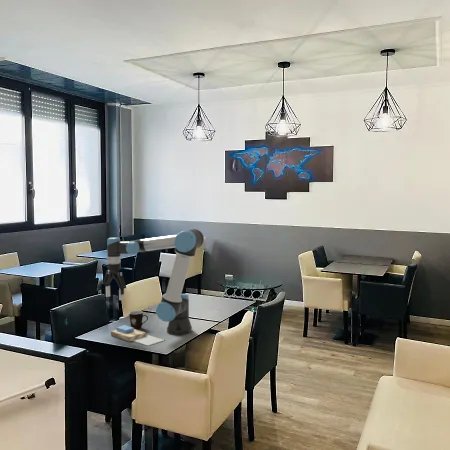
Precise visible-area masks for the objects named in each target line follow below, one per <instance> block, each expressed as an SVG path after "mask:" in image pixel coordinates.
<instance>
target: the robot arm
mask: <svg viewBox="0 0 450 450" xmlns="http://www.w3.org/2000/svg"><path fill="white" fill-rule="evenodd" d="M106 242H107V245H106V247H107V251H106V252H107V270H105V275H104V279H103V282H102V285H104V286H105V289H104V290H105V297H106V298H108V297H111V282H112V280H115V282H116V283H117V286H118V287H119V288H118V301H124V300H125V298H124V295H125V291H124V290H125V289H127V284H126V282H125V277H124V273H123V271H121V272H120V270H121V255H123V254H124V255H137V254H138V253H140V252H147V251H155V250H165V249H173V248H174V252H175V254H176V256H175V259H174V262H173V266H172V270H171V274H170V277H169V280H168V283H167V288H166V291H165V293H164V294H162V296H161V301H160V302H159V303H158V304H157V306H156V308H155V314H156V316H157V317H158V319H159V320H160V321H162V322H165V323H167V322H168V324H167V327H166V333H168V334H170V335H173V336H175V335H176V336H179V335H186V334H190V333H192V331H193V327H192V324H191V321H190V316H189V315H190V309H189V308H190V302H189V301H190V299H189V295H188V294H186V293H182V292H183V289H184V285H185V280H186V278H187V275H188V271H189V267H190V264H191V260H192V258H194V257H195V255H196V252H197V249H199V248H201V247H202V246H203V244H204V242H205V237H204V234H203V232H201V230H199V229H197V228H196V229H195V228H192V229H184V230H182V231H180V232H178V233H177V234H171V235H164V236H163V235H162V236H157V237H156V236H155V237H149V238H140V239H136V240H130V241H129V240H126V241H124V240H123V241H121V239H120V237H109V238H107V240H106Z"/></svg>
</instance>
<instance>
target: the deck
mask: <svg viewBox="0 0 450 450" xmlns="http://www.w3.org/2000/svg"><path fill="white" fill-rule="evenodd" d="M111 335H113V336H112V337H114V336H115V337H114V338H117V337H118V338H117V339H120V340H123V341H127V342H129V343H130V342H133V341H132V340H134V339H138V338H141V337H145V336H147V332H146V331H142V330H140V329H138V330H136V329H134V331H133V332H130V333H126V334H125V333H122V332H119V331H117V329H114V330H111V331H110V336H111Z"/></svg>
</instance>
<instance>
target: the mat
mask: <svg viewBox="0 0 450 450" xmlns="http://www.w3.org/2000/svg"><path fill="white" fill-rule="evenodd" d="M164 341H165V339H163V338H159V337H155V336H152V335H149V334H148V335H146V336H145V337H141V338H138V339H134V340H132V341H131V342H134V343H138V344H140V345H144V346H147V347H149V346H152V345H156V344H160V343H162V342H164Z"/></svg>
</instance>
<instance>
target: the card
mask: <svg viewBox="0 0 450 450" xmlns="http://www.w3.org/2000/svg"><path fill="white" fill-rule="evenodd" d="M115 328H116V330H117V331H119V332H122V333H125V334H126V333H130V332H133V331H134V328H133V327H131V326H128V325H126V324H123V325H120V326H116V327H115Z"/></svg>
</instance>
